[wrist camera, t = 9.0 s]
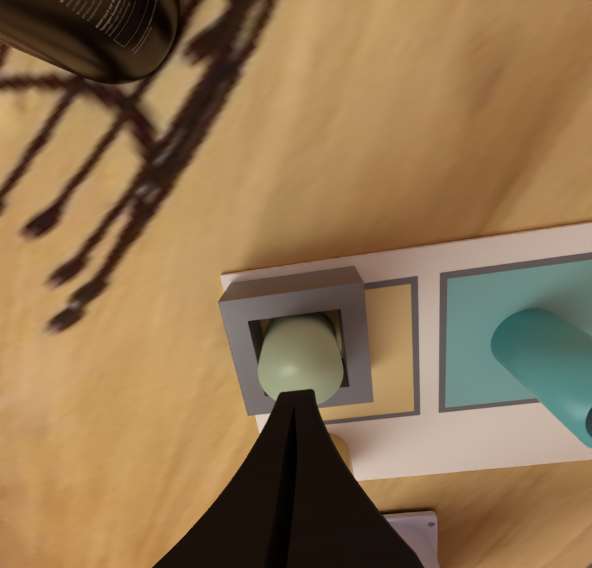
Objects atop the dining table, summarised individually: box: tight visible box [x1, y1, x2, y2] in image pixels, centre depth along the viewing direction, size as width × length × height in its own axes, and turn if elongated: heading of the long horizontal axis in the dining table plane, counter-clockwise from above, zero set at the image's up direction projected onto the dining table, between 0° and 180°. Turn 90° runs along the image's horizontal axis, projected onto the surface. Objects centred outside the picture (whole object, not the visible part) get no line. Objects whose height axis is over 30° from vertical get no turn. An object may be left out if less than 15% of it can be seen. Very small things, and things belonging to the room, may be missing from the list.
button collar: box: [218, 266, 374, 416], centre depth 17 cm, size 7×7×3 cm
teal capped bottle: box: [491, 309, 592, 449], centre depth 15 cm, size 4×4×7 cm
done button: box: [258, 312, 343, 405], centre depth 16 cm, size 4×4×3 cm
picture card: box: [220, 221, 592, 481], centre depth 19 cm, size 17×24×1 cm
